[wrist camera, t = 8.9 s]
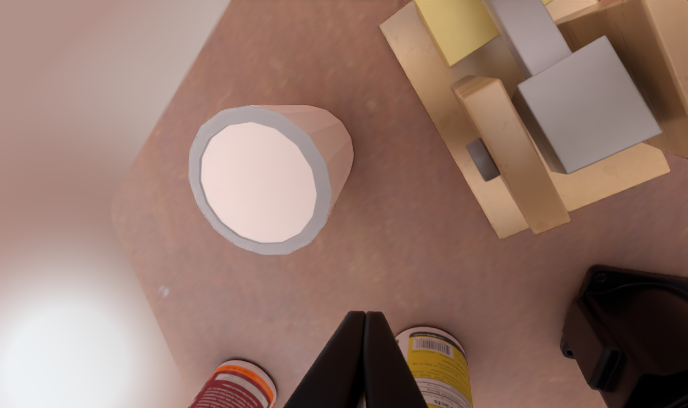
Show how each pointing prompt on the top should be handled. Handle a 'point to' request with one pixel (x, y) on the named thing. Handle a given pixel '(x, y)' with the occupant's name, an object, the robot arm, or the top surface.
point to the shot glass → (270, 174)
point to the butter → (457, 26)
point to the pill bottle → (237, 388)
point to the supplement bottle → (437, 367)
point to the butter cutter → (508, 128)
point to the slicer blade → (570, 90)
